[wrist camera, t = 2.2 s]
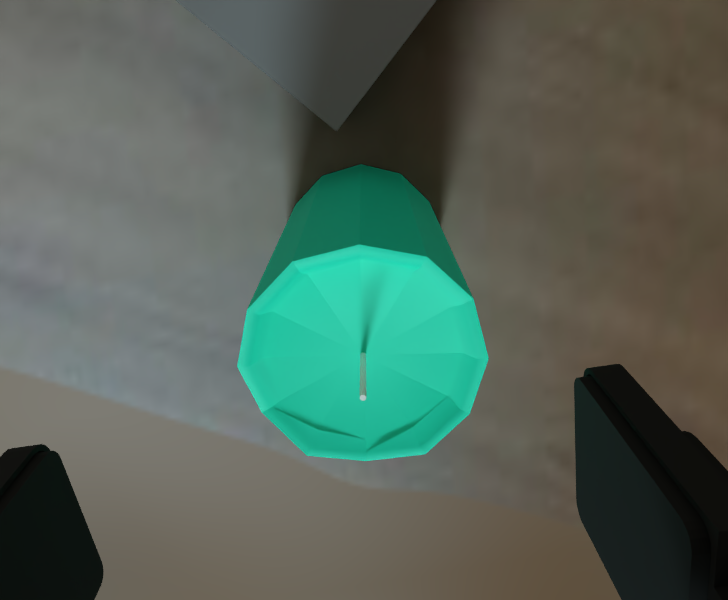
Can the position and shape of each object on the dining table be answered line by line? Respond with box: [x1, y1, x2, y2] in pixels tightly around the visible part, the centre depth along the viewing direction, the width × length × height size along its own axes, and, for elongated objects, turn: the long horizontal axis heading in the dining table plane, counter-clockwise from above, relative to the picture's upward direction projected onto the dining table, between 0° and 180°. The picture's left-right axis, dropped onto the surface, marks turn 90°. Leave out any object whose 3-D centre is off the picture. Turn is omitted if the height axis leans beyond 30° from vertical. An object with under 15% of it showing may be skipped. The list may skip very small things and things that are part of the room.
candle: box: [237, 164, 489, 461], centre depth 19 cm, size 6×6×12 cm
